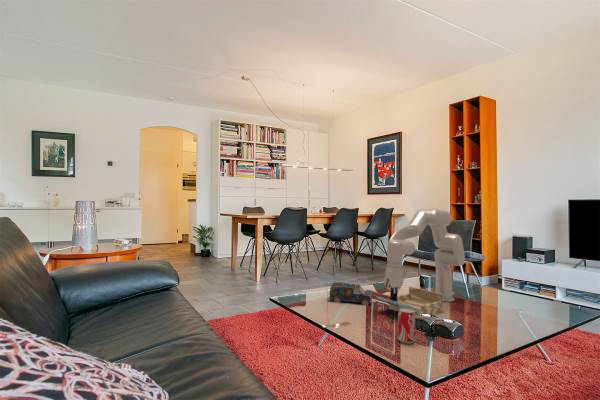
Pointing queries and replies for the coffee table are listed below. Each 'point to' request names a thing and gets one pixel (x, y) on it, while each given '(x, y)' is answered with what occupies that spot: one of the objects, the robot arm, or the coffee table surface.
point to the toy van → (349, 293)
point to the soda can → (406, 325)
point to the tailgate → (398, 304)
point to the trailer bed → (421, 301)
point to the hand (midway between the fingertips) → (393, 300)
